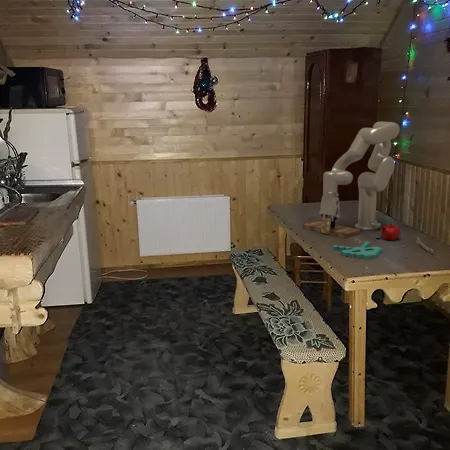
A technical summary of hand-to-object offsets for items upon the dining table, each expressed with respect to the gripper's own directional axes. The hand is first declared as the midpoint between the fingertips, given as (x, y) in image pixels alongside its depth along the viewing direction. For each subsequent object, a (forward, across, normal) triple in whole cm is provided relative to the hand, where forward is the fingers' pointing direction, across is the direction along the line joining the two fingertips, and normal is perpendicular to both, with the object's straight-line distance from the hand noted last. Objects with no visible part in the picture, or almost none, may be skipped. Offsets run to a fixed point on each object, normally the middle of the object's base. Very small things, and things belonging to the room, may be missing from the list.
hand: (329, 226), depth 289 cm
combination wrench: (+4, -52, -7) cm, 52 cm away
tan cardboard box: (+4, 0, 0) cm, 4 cm away
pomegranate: (+4, -30, -12) cm, 33 cm away
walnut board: (+4, +2, -4) cm, 5 cm away
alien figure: (+4, -33, +19) cm, 38 cm away
